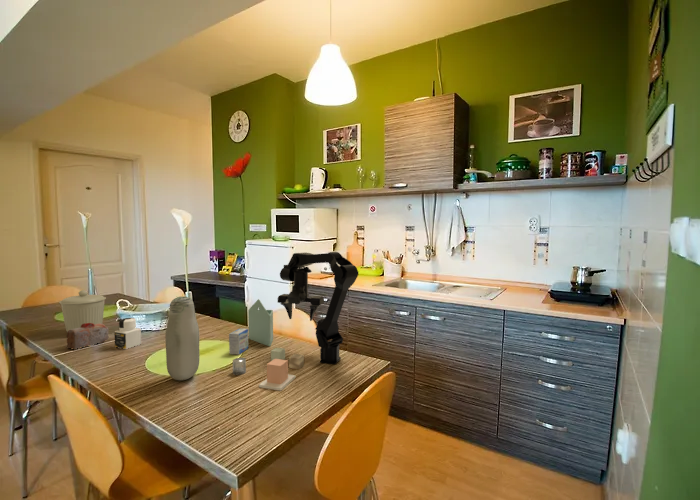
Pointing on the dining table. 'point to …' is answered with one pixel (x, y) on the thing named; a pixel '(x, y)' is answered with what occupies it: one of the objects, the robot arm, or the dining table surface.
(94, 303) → the canister
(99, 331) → the food item
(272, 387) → the grey mat
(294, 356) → the birch block
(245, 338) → the medicine box
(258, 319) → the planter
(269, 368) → the coral block
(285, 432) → the dining table surface
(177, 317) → the grey squeeze bottle
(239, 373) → the grey metal cylinder
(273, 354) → the sage block
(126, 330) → the medicine bottle
